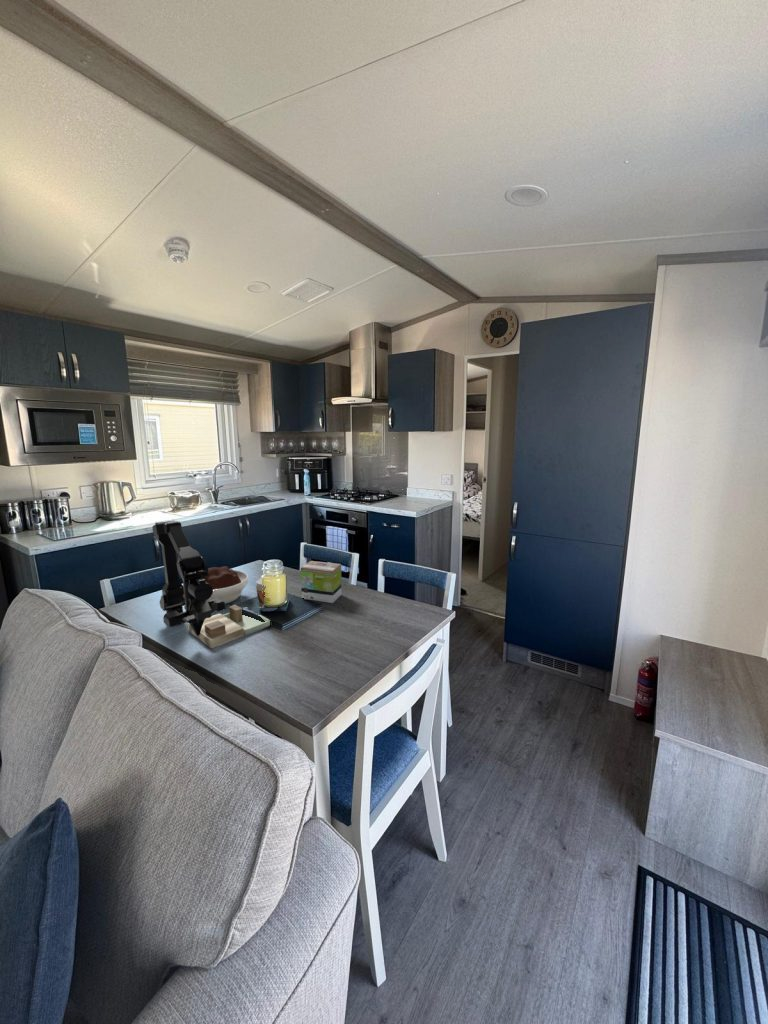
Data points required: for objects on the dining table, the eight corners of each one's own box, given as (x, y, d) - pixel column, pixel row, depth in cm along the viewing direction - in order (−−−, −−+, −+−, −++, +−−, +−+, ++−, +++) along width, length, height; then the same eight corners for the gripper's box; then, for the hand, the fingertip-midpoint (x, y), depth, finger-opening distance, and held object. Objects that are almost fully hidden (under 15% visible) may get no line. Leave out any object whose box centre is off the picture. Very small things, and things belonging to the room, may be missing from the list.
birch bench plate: (188, 631, 156) (188, 623, 156) (220, 620, 165) (219, 613, 164) (211, 648, 144) (210, 640, 143) (244, 635, 153) (243, 628, 152)
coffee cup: (252, 610, 174) (250, 582, 171) (268, 602, 182) (266, 575, 179) (269, 614, 169) (268, 586, 167) (285, 606, 178) (284, 578, 175)
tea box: (301, 599, 184) (299, 567, 181) (311, 591, 193) (310, 560, 190) (333, 603, 180) (332, 570, 177) (342, 594, 189) (341, 563, 186)
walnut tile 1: (228, 606, 164) (234, 604, 166) (229, 618, 165) (235, 616, 167) (235, 610, 161) (241, 608, 163) (236, 622, 162) (242, 620, 164)
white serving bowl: (220, 586, 200) (218, 555, 197) (262, 594, 189) (259, 562, 186) (174, 606, 178) (170, 571, 175) (218, 617, 167) (214, 580, 164)
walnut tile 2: (205, 631, 150) (204, 625, 149) (218, 626, 153) (218, 620, 153) (211, 636, 146) (211, 629, 146) (225, 631, 150) (225, 624, 149)
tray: (220, 620, 165) (220, 615, 164) (246, 611, 173) (246, 606, 172) (244, 635, 153) (244, 630, 152) (271, 625, 160) (270, 620, 160)
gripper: (174, 607, 130) (179, 654, 133) (231, 590, 143) (235, 633, 146) (160, 597, 137) (165, 642, 141) (216, 582, 151) (219, 623, 154)
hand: (197, 635), depth 145 cm, fingers closed
